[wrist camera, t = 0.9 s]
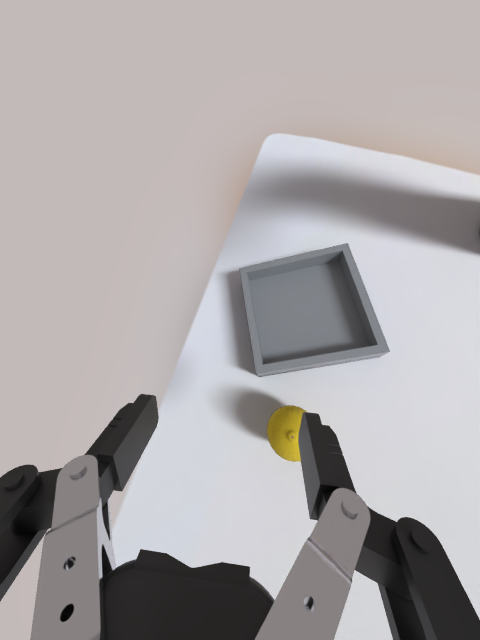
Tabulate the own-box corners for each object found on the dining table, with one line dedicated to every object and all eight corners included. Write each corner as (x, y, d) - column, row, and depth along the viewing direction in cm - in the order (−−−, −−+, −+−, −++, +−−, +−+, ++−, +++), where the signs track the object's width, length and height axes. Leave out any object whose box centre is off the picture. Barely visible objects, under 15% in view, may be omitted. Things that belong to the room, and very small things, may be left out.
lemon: (264, 411, 30) (257, 414, 23) (305, 400, 30) (310, 399, 22) (277, 457, 28) (273, 477, 21) (321, 446, 28) (332, 462, 20)
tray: (342, 257, 36) (347, 243, 32) (378, 357, 30) (389, 351, 27) (243, 279, 38) (239, 268, 35) (259, 376, 32) (256, 373, 29)
